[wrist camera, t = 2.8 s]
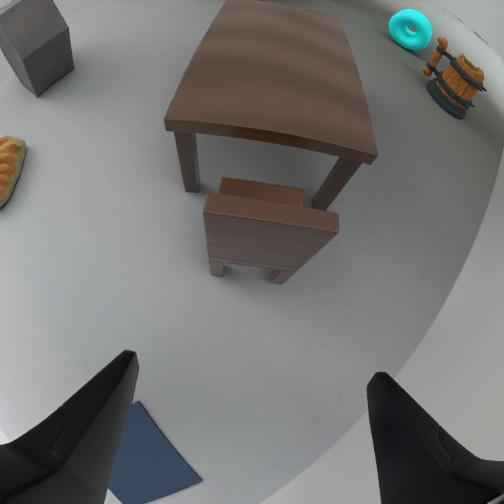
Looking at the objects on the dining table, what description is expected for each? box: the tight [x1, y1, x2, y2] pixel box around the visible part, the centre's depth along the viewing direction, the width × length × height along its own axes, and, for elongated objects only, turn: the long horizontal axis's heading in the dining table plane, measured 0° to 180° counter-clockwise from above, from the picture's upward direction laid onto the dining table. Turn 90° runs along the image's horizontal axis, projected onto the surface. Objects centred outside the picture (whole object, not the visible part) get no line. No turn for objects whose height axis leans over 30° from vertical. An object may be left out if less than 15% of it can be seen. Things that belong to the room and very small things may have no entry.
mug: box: [422, 38, 487, 119], centre depth 32 cm, size 13×10×12 cm
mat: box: [108, 401, 202, 504], centre depth 17 cm, size 9×9×1 cm
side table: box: [164, 0, 378, 211], centre depth 24 cm, size 24×14×10 cm, turn 174°
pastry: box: [0, 136, 26, 207], centre depth 21 cm, size 9×7×4 cm
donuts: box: [389, 9, 433, 50], centre depth 39 cm, size 10×10×10 cm
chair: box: [203, 177, 339, 284], centre depth 18 cm, size 6×6×12 cm
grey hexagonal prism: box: [0, 0, 74, 97], centre depth 21 cm, size 17×8×21 cm
